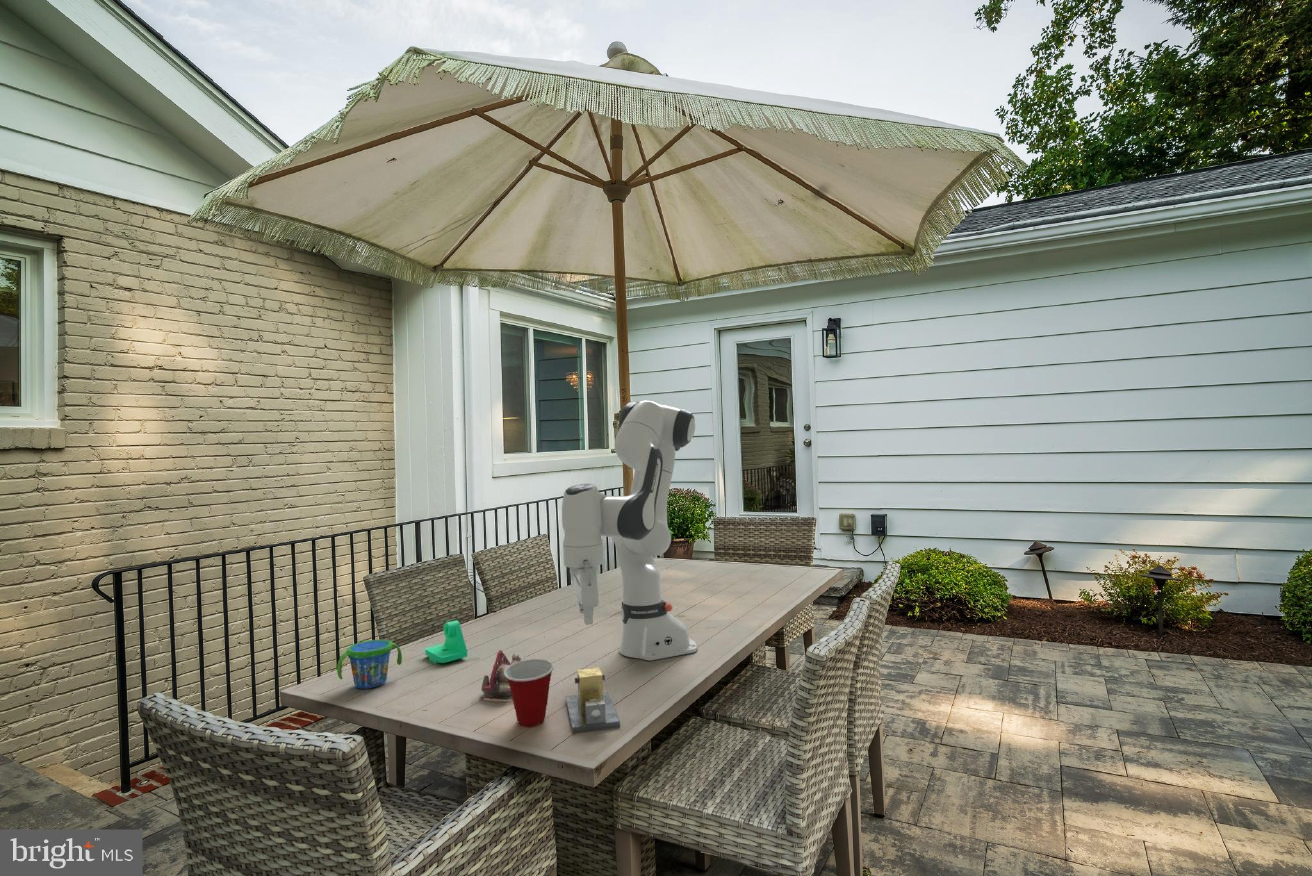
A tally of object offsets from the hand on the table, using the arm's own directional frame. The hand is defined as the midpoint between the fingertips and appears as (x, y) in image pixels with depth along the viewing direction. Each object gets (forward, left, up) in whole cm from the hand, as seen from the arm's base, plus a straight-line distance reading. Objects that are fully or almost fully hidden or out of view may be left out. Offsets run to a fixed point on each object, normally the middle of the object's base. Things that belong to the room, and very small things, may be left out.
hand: (585, 618), depth 143 cm
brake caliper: (+19, -18, -21) cm, 34 cm away
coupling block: (0, +1, -20) cm, 20 cm away
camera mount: (+36, -50, -22) cm, 65 cm away
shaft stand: (0, +1, -21) cm, 21 cm away
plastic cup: (+13, +1, -21) cm, 25 cm away
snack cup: (+53, -34, -21) cm, 66 cm away
